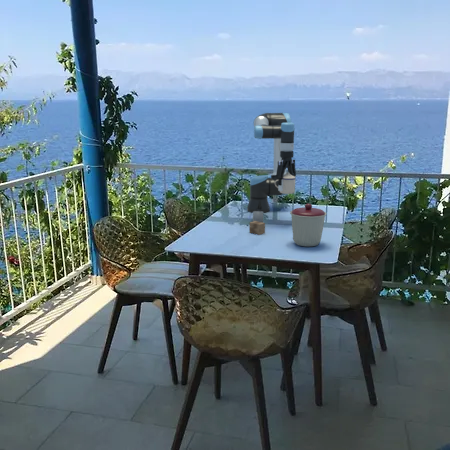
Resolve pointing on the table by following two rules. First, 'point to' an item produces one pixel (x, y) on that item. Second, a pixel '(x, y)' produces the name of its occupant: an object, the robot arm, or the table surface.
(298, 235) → the canister
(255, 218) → the grey rounded piece
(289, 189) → the teacup with lid
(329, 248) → the table surface
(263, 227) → the walnut block
